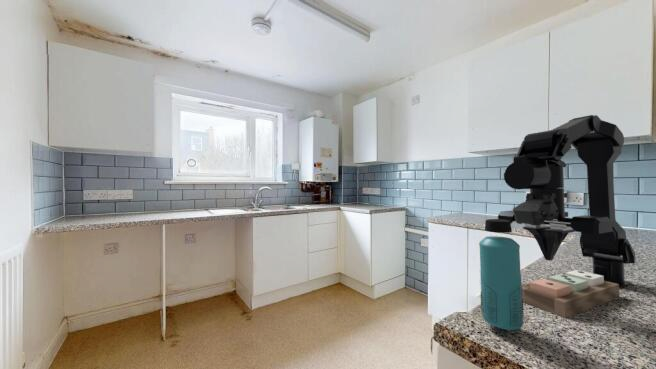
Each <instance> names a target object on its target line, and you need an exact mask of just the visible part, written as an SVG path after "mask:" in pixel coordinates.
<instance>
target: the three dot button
mask: <svg viewBox="0 0 656 369" xmlns="http://www.w3.org/2000/svg"><path fill="white" fill-rule="evenodd" d="M547 279H548V280H550V281H554V282H558V283H562V284H565V285H569V286H570V290H571V291H575V292H578V291H581V290H585V289H588V281H587V280H583V279H579V278H575V277H571V276H566V275H564V274H562V273H560V274H556V275H552V276H549V277H548V278H547Z"/></svg>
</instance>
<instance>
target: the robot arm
mask: <svg viewBox="0 0 656 369" xmlns="http://www.w3.org/2000/svg"><path fill="white" fill-rule="evenodd" d="M624 144H625V137H624V133H623V132H622V131H621V129H620V128H619V127H618V126H617V125H616V124H614V123H612V122H609V121H605V120H603V119H601V118H600V117H599V116H598V115H597V114H595V115H593V114H589V115H585V116H581V117H574V118H572V119H570V120H568V121H567V122H565V123H564V124H561V125H559V126H557V127H555V128H553V129H550V130H544V131H539V132H534V133H528V134H526V135H525V136H524V138H523V141H521V144H520V147H519V149H518V151H517V154H516V155H515V156H514V157H513V159H512V160H513V162H512V163H510V164H509V165H508V166H507V167H506V169H505V170H504V173H503V178H504V179H503V180H504V183H505V184H506V185H507V186H508V187H509V188H511V189H514V190H529V193H526V195H525V201H523V202H520V203H519V204H517V205H516V206H515V207H513V208H512V210H503V211H500V212H499V213H498V215H497V219H503V220H509V221H510V222H511V224H513V222H515V223H516V224H518V225H522V224H524V226H523V227H522V228H523V230H525V231H526V230H527V231H528V232H529V233H530V234H532V236H533V238H534V239H535V241H536V242H537V245H538V246H539V249H540V250H541V251H540V252H542V255H543V258H544V259H545V261H550V262H551V261H553V260H554V257H555V256H556V254H557V252H558V250H559V249H560V247H561V245H562V244H563V242H564V240H565V238H567V236H568V235H569V233H574V232H577V233H578V232H579V233H580V234H581V235H580V237H579V246H580V250H581V253H582V254H581V255H582V257H584V258H585V257H587V258H591V260H592V262H591V263H592V273H593V274H597V275H602V276H604V281H608V282H612V283H616V284H619V289H621V288H625V287H628V286H630V285H632V282H631V281H627V280H625V264H626V265H628V264H633V265H634V264H636V253H635V250H634V248H633V247H632V245H631V244H632V243H630V241H629V239H628V238H627V232H626V230H625V229H624V228H623V227H622V226H621V224H619V222H618V221H617V220H616V207H615V206H616V204H615V187H614V186H615V185H614V182H615V181H614V163H615V162H616V161H617V159H618V158H619V156H621V154H622V146H624ZM572 146H573V148H574V149H575V150H576V152H577V156H578V158H579V159H580V160H581V161H582V162H583V163H584V164H585V166H586V172H587V174H586V176H587V191H588V192H587V197H588V198H587V199H588V212H589V213H588V214H589V215H586V214H585V215H577V216H572V217H569V211H565V210H566V209H565V207H566V206H565V198H566V199H567V198H568V192H565V183H564V182H565V180H564V168H566V167H567V163H566V162H565V161H563V160H562V158H563V157H564V156H565V155H566V154H567V153H568V152H569V151H570V150H571V149H572ZM548 225H549V226H548Z"/></svg>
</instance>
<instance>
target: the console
mask: <svg viewBox="0 0 656 369" xmlns="http://www.w3.org/2000/svg"><path fill="white" fill-rule="evenodd" d="M563 275H565V274H563ZM546 279H547V280H548V278H546ZM522 286H523V287H522ZM521 287H522V290H523V292H522V294H523V295H522V298H523V304H527V305H529V306H532V307H534V308H537V309H540V310H542V311H545V312H548V313H551V314H554V315H556V316H559V317H562V318H565V319H566V318H568V317H571V316H573V315H576V314H578V313H582V312H585V311H586V310H590V309H592V308H596V307H597V306H599V305H603V304H606V303H608V302H611V301H613V300H616V299H618V298H620V288H619V284H616V283H612V282H608V281H604V283H603V284H600V285H597V286H594V287H593V286H589V285H588V289H585V290H581V291H578V292H575V291H571V290H570V294H569V295H566V296H562V297H559V298H556V297H553V296H550V295H547V294H543V293H540V292H537V291H534V290H531V289H530V283H527V284H521Z"/></svg>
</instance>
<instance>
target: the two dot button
mask: <svg viewBox="0 0 656 369" xmlns="http://www.w3.org/2000/svg"><path fill="white" fill-rule="evenodd" d="M565 275H566V276H571V277H575V278H579V279H583V280H587V281H588V285H589V286H593V287H594V286H597V285H600V284H603V283H604V276H602V275H597V274H593V272H589V271H588V272H587V271H583V270H578V269H575V270H571V271H567V272H565Z"/></svg>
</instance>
